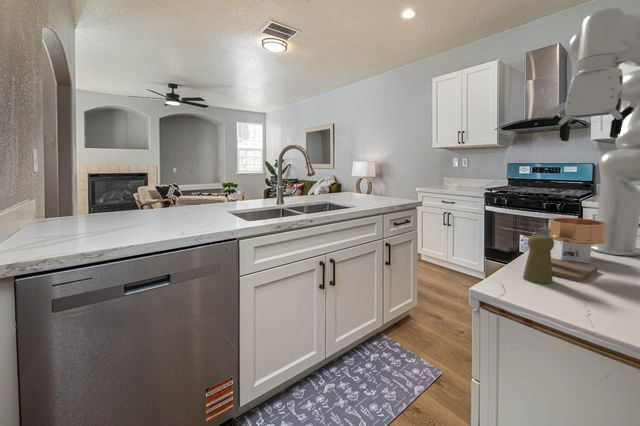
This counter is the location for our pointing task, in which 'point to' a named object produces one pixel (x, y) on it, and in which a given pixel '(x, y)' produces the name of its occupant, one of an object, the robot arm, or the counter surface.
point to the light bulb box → (574, 252)
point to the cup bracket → (574, 233)
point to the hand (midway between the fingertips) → (587, 139)
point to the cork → (539, 260)
